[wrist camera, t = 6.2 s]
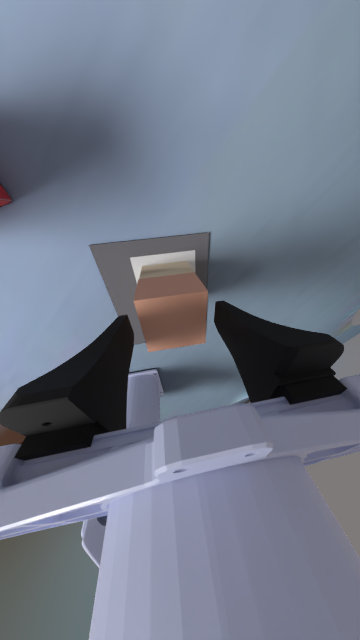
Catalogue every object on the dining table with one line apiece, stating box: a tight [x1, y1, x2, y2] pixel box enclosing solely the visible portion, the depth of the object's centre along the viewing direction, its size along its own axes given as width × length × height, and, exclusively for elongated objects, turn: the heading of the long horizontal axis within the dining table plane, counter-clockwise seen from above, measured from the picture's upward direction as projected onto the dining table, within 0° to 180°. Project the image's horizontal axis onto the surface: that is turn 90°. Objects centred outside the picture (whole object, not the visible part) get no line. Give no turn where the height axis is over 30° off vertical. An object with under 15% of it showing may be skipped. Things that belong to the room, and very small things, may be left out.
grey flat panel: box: [89, 233, 209, 344], centre depth 19 cm, size 14×12×1 cm
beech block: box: [139, 261, 194, 279], centre depth 16 cm, size 5×5×4 cm
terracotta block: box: [133, 272, 208, 352], centre depth 13 cm, size 5×5×4 cm
